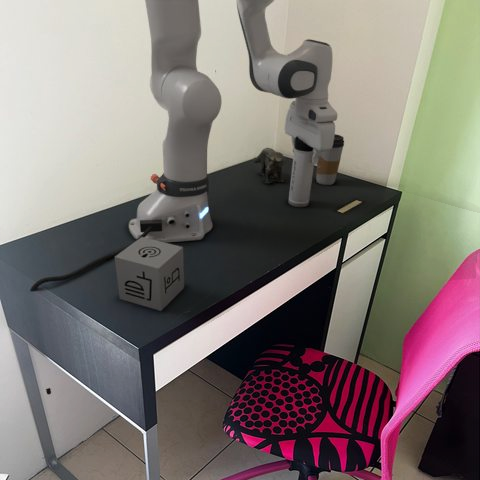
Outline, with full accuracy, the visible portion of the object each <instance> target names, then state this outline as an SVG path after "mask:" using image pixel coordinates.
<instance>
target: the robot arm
mask: <svg viewBox="0 0 480 480" xmlns="http://www.w3.org/2000/svg"><path fill="white" fill-rule="evenodd" d="M144 2H145V7H146V9H145V10H146V16H147V22H148V28H149V34H150V49H151V52H150V53H151V54H150V55H151V56H150V58H151V61H150V63H151V65H150V66H151V74H150V77H149V88H150V92H151V94H152V96H153V99H154V100H155V102H156V103H157V104H158V105H159V106H160V108H162V109H164V110H165V111H166V112H167V114H168V122H167V128H166V135H165V138H164V139H163V141H162V145H161V146H162V165H163V167H162V168H163V172H162V175H160V176H159V175H158V174H156V173H153V174H151V176H150V180H151V182H152V183H153V184H156V189H155V190H154V191H153V192H152V193H151V194H149V195H148V196H147V197H146V198H145V199H143V200H142V201H140V203H139V204H138V207H137V210H136V218H132V219H130V221H129V222H128V230H129V233H130V234H131V236H132V237H133V238H134V239H135V240H134V241H133V242H131V243H130V244H128V245H127V246H124V247H123V248H121V249H119V250H117V251H114V252H111V253H108V254H105V255H103V256H101V257H99V258H96V259H94V260H92V261H90V262H89V263H87V264H85V265H83V266H81V267H79V268H78V269H75V270H74V271H72V272H69V273H67V274H63V275H56V276H48V277H43V278H41V279H39V280H37V281H36V282H35V283H34V284H33V285H32V286H31V288H30V289H29V292H35V291H36V290H37V289H38V288H39V287H40V286H41V285H43V284H45V283H51V282H60V281H65V280H69V279H71V278H74V277H75V276H77V275H80V274H81V273H84V272H85V271H88V270H89V269H90V268H92V267H94V266H96V265H98V264H100V263H102V262H104V261H106V260H109V259H111V258H115V256H116V255H118V254H119V253H121V252H122V251H123V250H125V249H126V248H127V247H129V246H130V245H131V244H133V243H134V242H136V241H137V240H138V239H140V238H141V237H144V238H148V239H152V240H156V241H160V242H164V243H176V242H177V243H178V242H190V241H201V240H203V239H204V237H205V235H206V234H207V233H209V232H210V231H211V230H212V228H213V225H214V223H213V222H212V218H211V214H210V208H209V197H208V195H209V191H210V181H209V180H210V179H209V177H210V175H209V173H208V147H209V146H208V145H209V140H210V139H209V138H210V135H211V130H212V125H213V122H214V121H215V120H216V119H217V117H218V115H219V114H220V112H221V109H222V95H221V91H220V89H219V88H218V86H217V85H216V84H215V82H214V81H213V80H212V79H211V77H209V76H208V75H207V74H205V73H203V72H201V71H199V70H198V67H197V55H198V47H199V41H200V39H201V37H202V25H201V24H202V22H201V14H200V5H199V3H200V2H199V0H144ZM274 2H275V0H236V8H237V15H238V19H239V23H240V26H241V31H242V35H243V38H244V41H245V45H246V46H245V47H246V50H247V56H248V71H249V72H248V73H249V79H250V81H251V84H252V86H253V87H254V89H256V90H258V91H259V92H264V93H268V94H271V95H275V96H278V97H281V98H282V99H283V98H284V99H287V100H289V99H290V100H291V99H294V100H293V101H292V102H291V103H290V104H289V107H288V110H287V112H286V116H285V121H284V133H285V134H286V135H288V136H290V137H291V144H292V153H293V154H294V147H295V139H296V137H297V136H298V138H299V139H300V140H302V141H303V142H304V143H306V144H307V145H309V146H311V147H312V148H313V152H314V154H313V156H311V157H310V162H311V163H313V164H314V165H317V163H318V158H319V156H320V155H321V153H322V152H323V151H329V150H330V149H331V148H332V146H333V142H334V135H335V134H336V124H335V121H337V119H338V112H337V110H336V109H335V108H334V107H333V106H332V105H331V103H330V102H329V85H330V83H331V80H332V79H331V78H332V71H333V60H334V59H333V48H332V46H331V45H330V44H329V43H327V42H324V41H320V40H315V39H310V38H307V39H305V40H303V42H302V43H301V45H300V46H299V47H298V48H296V49H295V50H293V51H292V52H290V53H287V54H284V53H280V52H278V51H277V50H276V49H275V48H274V47H273V45H272V42H271V38H270V33H269V29H268V24H267V19H266V10H267V8H268V7H269V6H270V5H271V4H273V3H274ZM45 392H46V394H47V395H51V394H52V389H51V387H47V388H45Z"/></svg>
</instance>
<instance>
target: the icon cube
mask: <svg viewBox="0 0 480 480" xmlns="http://www.w3.org/2000/svg"><path fill="white" fill-rule="evenodd" d="M133 242H134V241H133ZM133 242H132V243H133ZM130 244H131V243H130ZM130 244H129V245H130ZM126 247H127V246H126ZM184 263H185V262H184V247H183V246H180V245H177V244H173V243H169V242H165V243H164V242H160V241H156V240H152V239H148V238H144V237H141V238H140V239H138V240H137V241H136V242H134V243H133V244H131V245H130V246H129V247H127V248H126V249H125V250H123V251H122V252H121V253H119V254H118V255H116V256H114V264H115V272H116V273H115V274H116V280H117V289H118V297H119V300H121V301H126V302H128V303H132V304H136V305H140V306H142V307H146V308H149V309H153V310H156V311H160V312H162V311H163V310H164V309H165V308H166V307H167V306H168V305H169V304H170V303H171V302H172V301H173V300H174V299H175V298H176V297H177V296H178V295H179V293H181V292H182V291H183V290H184V289H185V267H184V266H185V265H184Z"/></svg>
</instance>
